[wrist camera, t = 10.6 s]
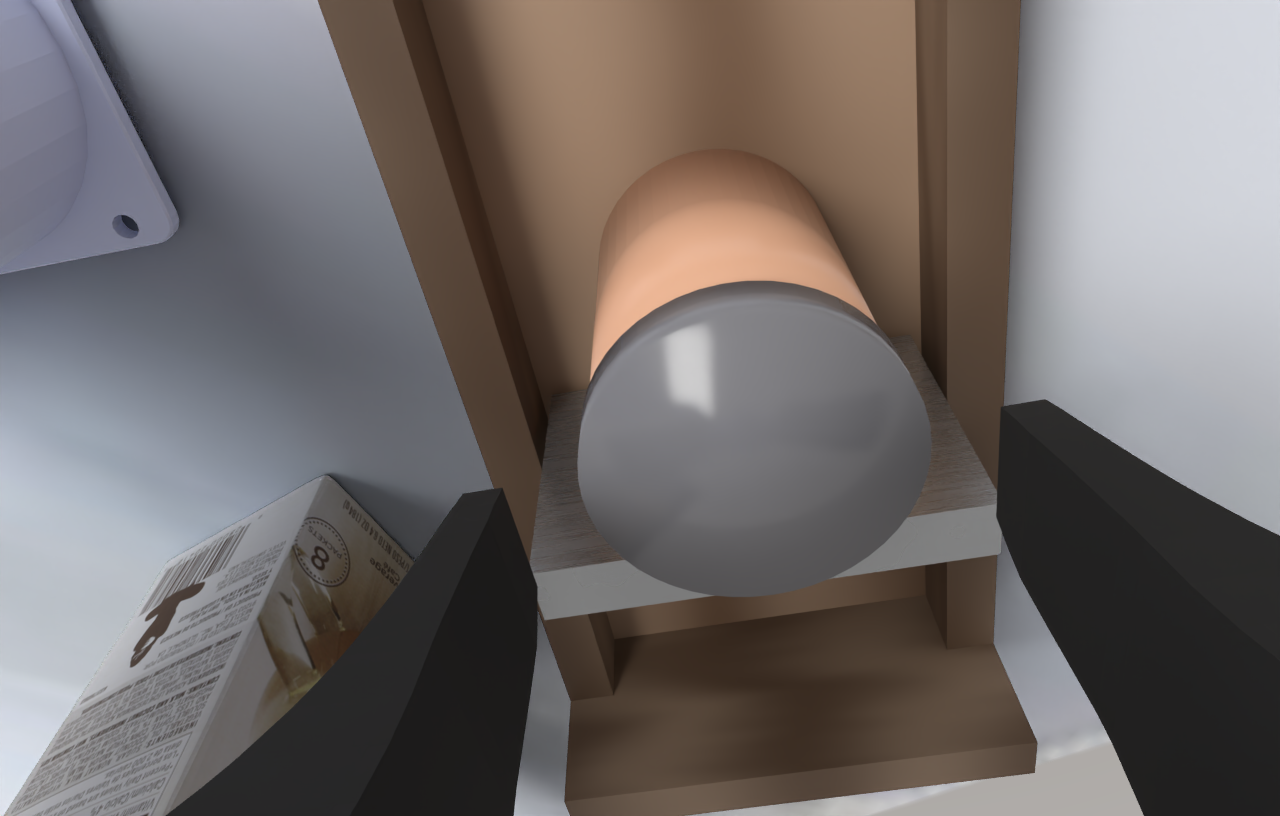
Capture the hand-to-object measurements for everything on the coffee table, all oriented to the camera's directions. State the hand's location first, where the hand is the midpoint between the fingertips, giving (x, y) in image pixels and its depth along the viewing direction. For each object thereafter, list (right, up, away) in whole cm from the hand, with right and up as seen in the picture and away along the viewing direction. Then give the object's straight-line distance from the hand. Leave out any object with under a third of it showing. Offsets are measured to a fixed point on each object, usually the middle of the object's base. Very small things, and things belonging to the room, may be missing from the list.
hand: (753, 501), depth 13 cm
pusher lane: (0, +4, +8) cm, 8 cm away
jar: (0, +5, +6) cm, 8 cm away
